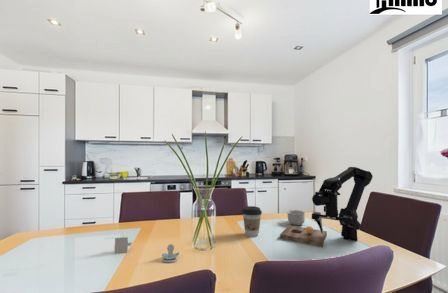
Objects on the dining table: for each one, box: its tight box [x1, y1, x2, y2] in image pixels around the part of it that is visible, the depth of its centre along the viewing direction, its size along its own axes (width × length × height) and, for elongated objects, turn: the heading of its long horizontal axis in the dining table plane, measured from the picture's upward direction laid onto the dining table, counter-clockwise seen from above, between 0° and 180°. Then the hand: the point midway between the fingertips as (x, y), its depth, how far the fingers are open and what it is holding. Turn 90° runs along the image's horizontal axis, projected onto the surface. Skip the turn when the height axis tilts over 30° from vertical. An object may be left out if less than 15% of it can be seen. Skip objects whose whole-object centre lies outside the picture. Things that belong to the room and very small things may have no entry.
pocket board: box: [279, 224, 328, 248], centre depth 123 cm, size 21×18×2 cm
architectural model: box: [114, 236, 133, 254], centre depth 105 cm, size 3×7×7 cm, turn 98°
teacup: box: [286, 209, 306, 227], centre depth 148 cm, size 14×11×8 cm
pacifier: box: [161, 243, 180, 264], centre depth 97 cm, size 7×6×6 cm
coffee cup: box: [241, 205, 263, 238], centre depth 127 cm, size 11×11×15 cm
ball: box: [305, 225, 314, 234], centre depth 122 cm, size 4×4×4 cm
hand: (331, 234), depth 116 cm, fingers open, 9 cm apart
